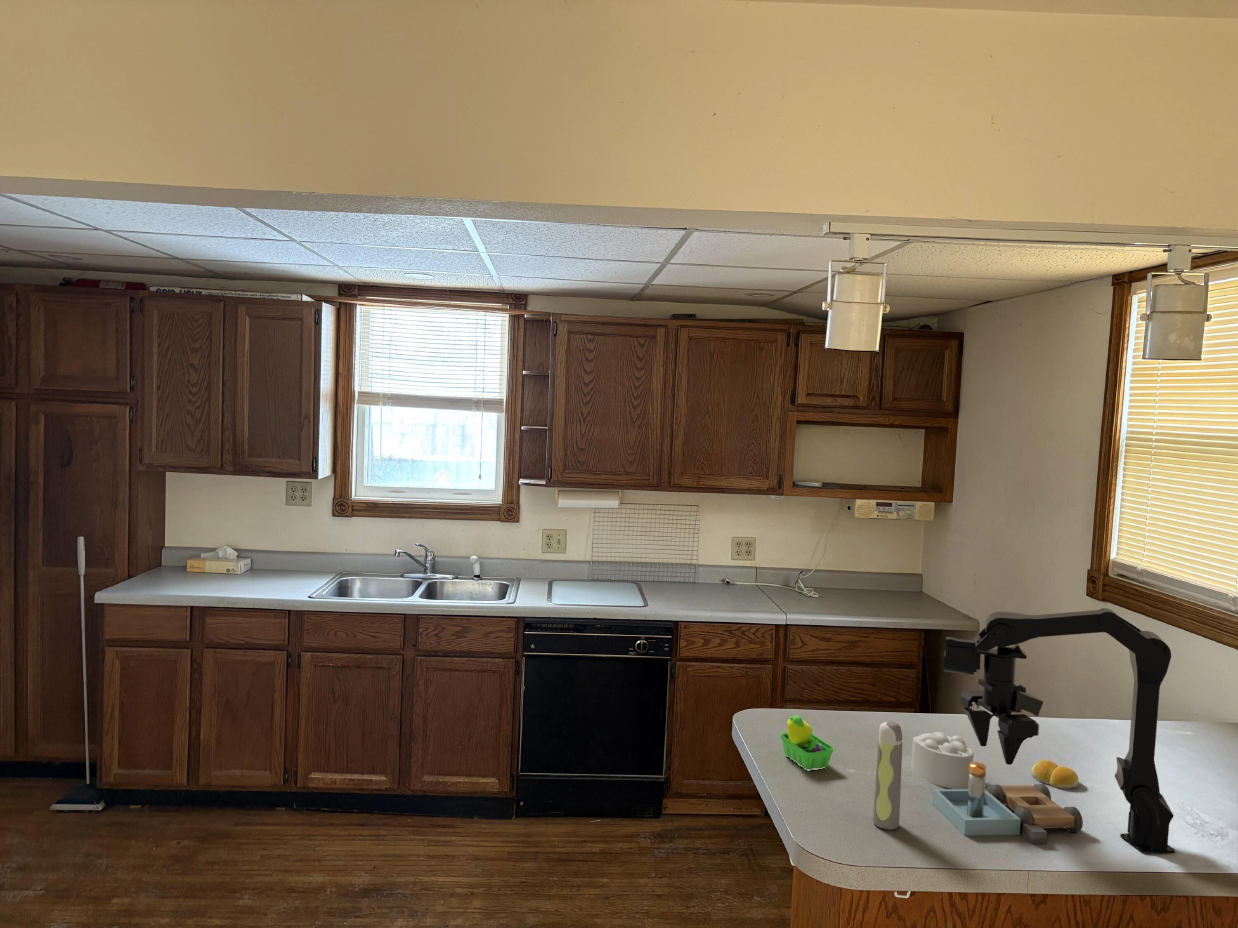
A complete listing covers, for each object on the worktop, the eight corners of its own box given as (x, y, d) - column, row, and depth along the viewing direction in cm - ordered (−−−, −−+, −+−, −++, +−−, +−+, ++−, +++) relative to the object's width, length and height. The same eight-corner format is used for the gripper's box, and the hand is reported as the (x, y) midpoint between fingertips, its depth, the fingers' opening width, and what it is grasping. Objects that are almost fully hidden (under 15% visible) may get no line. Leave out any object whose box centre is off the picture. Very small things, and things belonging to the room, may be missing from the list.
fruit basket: (835, 770, 187) (837, 720, 187) (801, 775, 184) (803, 725, 184) (805, 751, 198) (807, 703, 197) (772, 755, 195) (775, 707, 194)
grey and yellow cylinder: (878, 816, 166) (883, 716, 165) (902, 824, 163) (908, 722, 162) (868, 824, 163) (873, 723, 161) (893, 833, 160) (898, 729, 158)
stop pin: (986, 818, 165) (989, 768, 165) (971, 818, 165) (974, 768, 165) (978, 810, 168) (981, 761, 168) (963, 811, 168) (966, 761, 167)
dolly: (1091, 843, 158) (1093, 820, 158) (1031, 844, 157) (1033, 821, 157) (1037, 800, 176) (1039, 780, 175) (983, 801, 174) (984, 780, 174)
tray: (1019, 834, 161) (1020, 819, 161) (964, 835, 160) (965, 819, 160) (983, 803, 174) (984, 788, 174) (932, 803, 173) (933, 789, 173)
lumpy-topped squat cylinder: (940, 762, 194) (942, 725, 194) (984, 786, 182) (987, 746, 182) (904, 768, 190) (906, 730, 190) (947, 792, 178) (949, 752, 178)
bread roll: (1069, 793, 180) (1070, 775, 180) (1026, 779, 187) (1027, 761, 187) (1084, 783, 186) (1085, 765, 186) (1042, 769, 193) (1043, 752, 192)
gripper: (1067, 691, 159) (1063, 773, 159) (1010, 663, 177) (1007, 736, 178) (1011, 692, 157) (1007, 774, 158) (960, 663, 176) (957, 737, 177)
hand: (995, 754), depth 168 cm, fingers open, 9 cm apart
